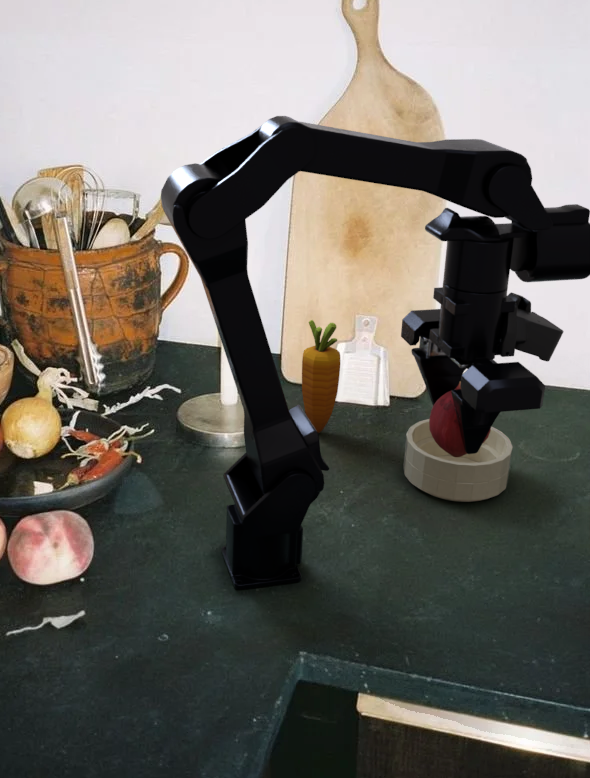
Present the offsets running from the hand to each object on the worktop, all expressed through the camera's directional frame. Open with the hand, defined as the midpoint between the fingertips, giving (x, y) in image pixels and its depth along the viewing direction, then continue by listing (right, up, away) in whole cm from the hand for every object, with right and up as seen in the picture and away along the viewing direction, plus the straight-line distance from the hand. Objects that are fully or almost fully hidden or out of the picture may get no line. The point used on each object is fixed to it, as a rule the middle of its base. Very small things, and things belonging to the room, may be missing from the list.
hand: (457, 438), depth 90 cm
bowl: (+3, -7, +17) cm, 18 cm away
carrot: (-12, -2, +27) cm, 29 cm away
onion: (0, -2, +1) cm, 2 cm away
